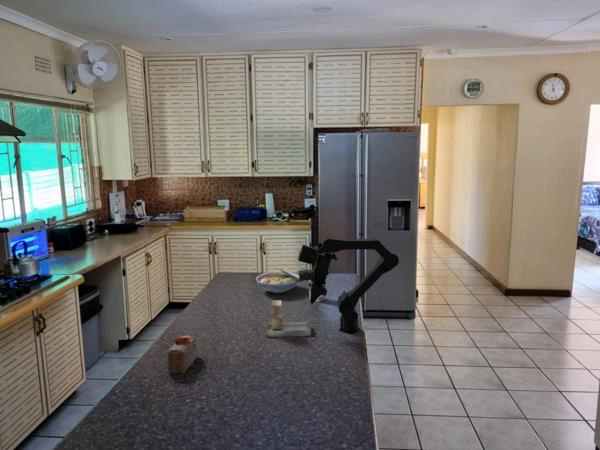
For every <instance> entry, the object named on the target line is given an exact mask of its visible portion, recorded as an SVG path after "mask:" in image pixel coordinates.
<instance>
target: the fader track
mask: <svg viewBox="0 0 600 450" xmlns="http://www.w3.org/2000/svg"><path fill="white" fill-rule="evenodd" d="M265 325H266V327H265V337H266V338H275V337H276V338H278V337H280V338H281V337H303V336H304V337H305V336H306V337H308V336H311V337H312V326H311V322H310V321H302V322H301V321H300V322H297V321H295V322H282V330H272V322H271V323H269V322H268V323H266V324H265Z"/></svg>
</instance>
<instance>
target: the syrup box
mask: <svg viewBox="0 0 600 450" xmlns="http://www.w3.org/2000/svg"><path fill="white" fill-rule="evenodd" d="M309 283H311V280H308V284H309ZM322 285H323V284H322ZM324 286H325V287H326V285H324ZM308 294H309V295H308V299H309V301H310V297H311V292H310V288H309V287H308ZM325 299H326V296H324V295H320V296H319V297H318V298H317V300H316V301H315V302H317V303H319V302H321V301H323V300H325ZM315 302H314V303H315Z"/></svg>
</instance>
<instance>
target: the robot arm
mask: <svg viewBox="0 0 600 450" xmlns="http://www.w3.org/2000/svg"><path fill="white" fill-rule="evenodd" d="M345 250H346V251H347V250H354V251H355V250H363V251H364V250H374V251H375V252H376V253H377V254H378V255H379V258H378V259H377V261H376V263H375V265H374V266H373V268H372V269H371V270H370V271H369V272H368V273H367V274H366V275H365V276H363V278H362V279H360V281H359V282H358V283H357V284H356V285H355V286H354V287H353V289H352V290H350V291H348V292H347V291H346V290H343V292H342V293H341V294H340V295H338V297H337V301H336V307H337V310H338V312H339V313H340V314H341V315H340V318H339V326H340V328H339V329H338V330H339V331H340V332H343V333H347V334H350V335H353V334H355V333H356V332H358V331H360V330H361V328H360V326H359V313H358V311H357V309H356V307H357V304H358V301H359V300H361V299H360V298H361V297H362V296H363V295H364V294H366V292H368V290H369V289H370V288H372V286H373V285H375V283H376V282H377V281H378V280H379V279H380V278H381V277H382V276H383V275H384V274H385V273H388V272H391V271H392V270H393V269H394V268H396V267H397V266H398V265H399V263H400V259H399V256H398V255H397V254H396V253H395V251H393V250H390V249H387V248H386V247H385V246H384V244H382V242H381V241H380V240H379V239H378V238H376V237H375V238H341V237H337V236H332V235H326V236H324V237H323V238H322V239H321V242H319V243H318V244H317V245H315V246H314V247H312V246H308V245H306V244H302V245H301V248H300V250H299V252H298V256H297V262H299V263H300V262H301V263H305V264H308V265H312V264H315V265H314V266H312V269H302V270H298V271H297V272H298V275H299V282H304V281H309V280H311V283H309V282H308V289H309V288H310V292H311V297H310V300H309V303H310V304H311V305H313V304H314V303H315V301H316V300H317V298H318V297H319V296H320V295H324V296H325V297H326V296H327V293H328V290H327V287H326V285H327V281H326V280H327V279H328V276H329V274H330V271H329V270H330V268H331V264H332V261H333V260H334V261H338V258H337V256H336V253H339V252H342V251H345ZM322 284H323V285H322ZM324 285H325V286H324Z"/></svg>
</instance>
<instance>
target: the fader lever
mask: <svg viewBox="0 0 600 450" xmlns="http://www.w3.org/2000/svg"><path fill="white" fill-rule="evenodd" d="M282 304H283V303H282V300H281V299H280V300H278V299H277V300H271V323H272V330H282V323H283V306H282Z"/></svg>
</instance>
